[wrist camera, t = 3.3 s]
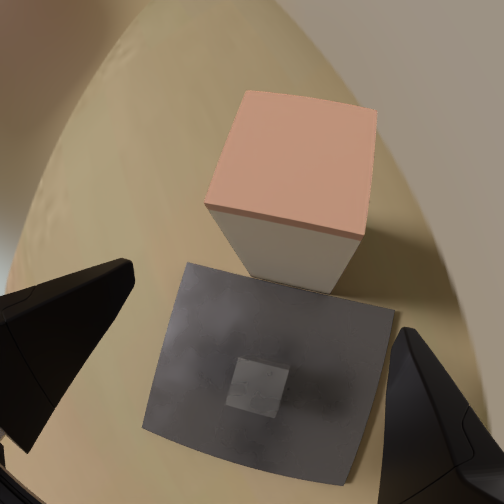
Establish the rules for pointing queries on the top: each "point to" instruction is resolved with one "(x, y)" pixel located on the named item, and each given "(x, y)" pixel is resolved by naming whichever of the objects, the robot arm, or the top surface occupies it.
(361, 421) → the post plate
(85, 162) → the top surface
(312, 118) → the pink-topped tall block
